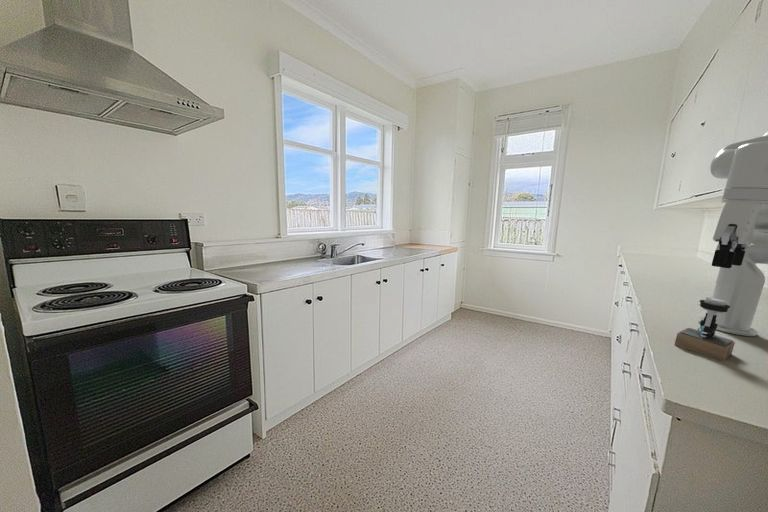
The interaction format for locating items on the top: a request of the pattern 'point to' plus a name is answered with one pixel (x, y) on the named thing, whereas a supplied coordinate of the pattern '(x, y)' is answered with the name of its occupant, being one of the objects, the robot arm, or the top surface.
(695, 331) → the stand
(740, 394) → the top surface
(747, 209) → the robot arm
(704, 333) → the push button
